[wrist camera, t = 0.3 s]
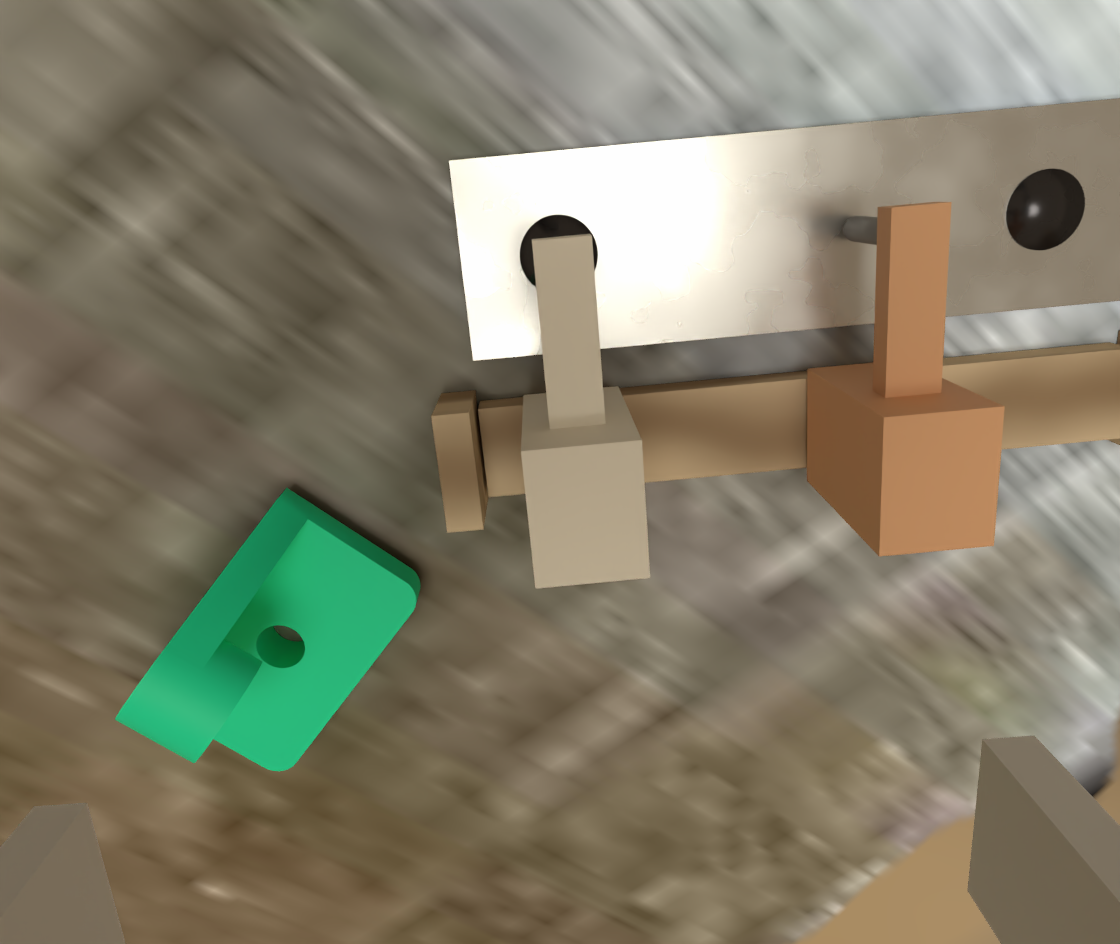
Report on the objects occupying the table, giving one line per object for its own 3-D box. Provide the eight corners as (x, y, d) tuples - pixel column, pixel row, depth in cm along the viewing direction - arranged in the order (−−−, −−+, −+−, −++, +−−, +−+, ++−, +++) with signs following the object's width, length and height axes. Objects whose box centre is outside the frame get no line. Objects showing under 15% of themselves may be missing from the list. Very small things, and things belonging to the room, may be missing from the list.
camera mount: (298, 744, 43) (229, 906, 33) (163, 667, 42) (49, 812, 32) (432, 570, 40) (400, 690, 31) (293, 479, 39) (212, 575, 29)
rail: (441, 393, 37) (431, 416, 34) (1152, 327, 38) (1222, 342, 34) (455, 499, 39) (447, 532, 35) (1138, 435, 39) (1203, 462, 35)
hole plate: (451, 161, 34) (448, 160, 33) (1137, 97, 35) (1155, 95, 34) (474, 356, 37) (473, 360, 36) (1114, 296, 37) (1131, 299, 36)
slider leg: (806, 207, 34) (890, 211, 26) (906, 198, 34) (1021, 199, 26) (805, 479, 38) (879, 556, 30) (895, 470, 38) (993, 545, 30)
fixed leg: (506, 235, 34) (499, 248, 26) (606, 225, 34) (629, 236, 26) (534, 504, 38) (535, 588, 30) (625, 496, 38) (650, 577, 30)
